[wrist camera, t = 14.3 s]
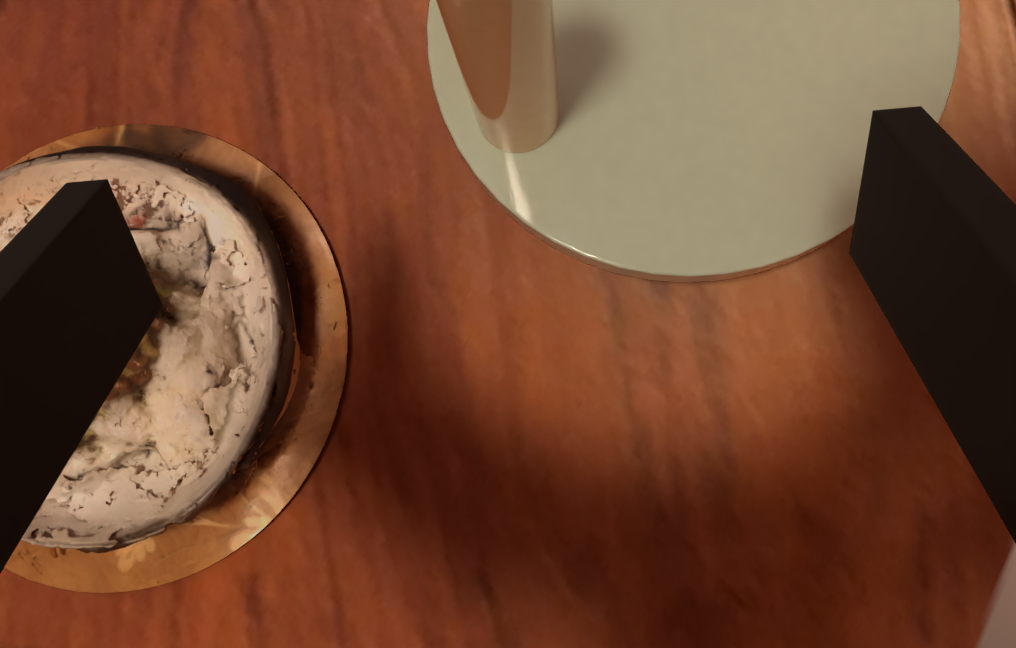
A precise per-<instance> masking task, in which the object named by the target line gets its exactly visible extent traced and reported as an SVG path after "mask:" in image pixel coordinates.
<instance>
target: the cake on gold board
mask: <svg viewBox="0 0 1016 648" xmlns="http://www.w3.org/2000/svg"><path fill="white" fill-rule="evenodd" d="M103 179H108V181H109V184H110V186H111V188H112V191H113V193H114V195H115V197H116V200H117V202H118V204H119V206H120V209H121V211H122V213H123V216H124V218H125V220H126V222H127V225H128V227H129V229H130V232H131V234H132V236H133V238H134V241H135V243H136V245H137V247H138V250H139V252H140V254H141V257H142V259H143V261H144V263H145V266H146V268H147V270H148V273H149V275H150V277H151V279H152V282H153V284H154V286H155V288H156V291H157V293H158V295H159V298H160V300H161V302H162V304H163V306H162V308H161V309H160V311H159V312H158V314H157V316H156V317H155V319H154V321H153V322H152V324H151V326H150V327H149V329H148V331H147V332H146V334H145V336H144V337H143V339H142V341H141V342H140V344H139V346H138V347H137V349H136V350H135V352H134V354H133V355H132V357H131V359H130V360H129V362H128V364H127V365H126V367H125V369H124V370H123V372H122V374H121V375H120V377H119V379H118V380H117V382H116V383H115V385H114V387H113V388H112V390H111V392H110V393H109V395H108V397H107V398H106V400H105V402H104V403H103V405H102V407H101V408H100V410H99V412H98V413H97V415H96V416H95V418H94V420H93V421H92V423H91V425H90V426H89V428H88V430H87V431H86V433H85V435H84V436H83V438H82V440H81V441H80V443H79V445H78V446H77V448H76V449H75V451H74V453H73V454H72V456H71V458H70V459H69V461H68V463H67V464H66V466H65V468H64V469H63V471H62V473H61V474H60V476H59V478H58V479H57V481H56V482H55V484H54V486H53V487H52V489H51V491H50V492H49V494H48V496H47V497H46V499H45V501H44V502H43V504H42V506H41V507H40V509H39V511H38V512H37V514H36V515H35V517H34V519H33V520H32V522H31V524H30V525H29V527H28V529H27V530H26V532H25V534H24V535H23V537H22V539H21V540H20V542H19V544H18V545H17V547H16V548H15V550H14V552H13V553H12V555H11V557H10V558H9V560H8V562H7V563H6V565H5V567H4V568H6V569H8V570H10V571H11V572H13V573H15V574H17V575H20V576H23V577H25V578H27V579H29V580H33V581H35V582H38V583H42V584H45V585H49V586H52V587H56V588H60V589H65V590H71V591H80V592H96V593H107V592H124V591H132V590H139V589H145V588H150V587H154V586H158V585H162V584H166V583H169V582H172V581H175V580H178V579H181V578H184V577H186V576H189V575H191V574H194V573H196V572H198V571H200V570H203V569H205V568H207V567H209V566H210V565H212V564H214V563H216V562H218V561H219V560H221V559H223V558H225V557H226V556H228V555H229V554H231V553H232V552H234V551H236V550H237V549H238V548H240V547H241V546H242V545H244V544H245V543H247V542H248V541H249V540H251V539H252V538H253V537H254V536H255V535H257V534H258V533H259V532H260V531H261V530H262V529H264V528H265V527H266V526H267V525H268V524H269V523H270V522H271V520H272V519H274V518H275V517H276V515H277V514H278V513H279V512H280V511H281V510H282V509H283V508H284V506H285V505H286V504H287V503H288V502H289V501H290V499H291V498H292V497H293V496H294V494H295V493H296V491H297V490H298V489H299V487H300V486H301V484H302V483H303V481H304V480H305V478H306V477H307V475H308V473H309V472H310V470H311V469H312V467H313V465H314V463H315V462H316V460H317V458H318V456H319V454H320V452H321V450H322V448H323V446H324V444H325V442H326V440H327V437H328V435H329V432H330V430H331V427H332V424H333V421H334V418H335V416H336V411H337V408H338V404H339V401H340V397H341V393H342V389H343V386H344V380H345V373H346V357H347V337H348V336H347V331H348V325H347V318H348V317H346V307H345V301H344V296H343V290H342V284H341V281H340V276H339V274H338V270H337V267H336V265H335V262H334V259H333V256H332V253H331V251H330V248H329V246H328V244H327V242H326V240H325V237H324V236H323V233H322V232H321V230H320V228H319V226H318V224H317V223H316V221H315V220H314V218H313V216H312V215H311V213H310V212H309V210H308V209H307V208H306V206H305V205H304V204H303V202H302V201H301V200H300V198H299V197H298V196H297V195H296V194H295V192H294V191H293V190H292V189H291V188H290V187H289V186H288V185H287V184H286V183H285V182H284V181H283V180H282V179H281V178H280V177H279V176H277V175H276V174H275V173H274V172H273V171H272V170H270V169H269V168H268V167H267V166H265V165H264V164H263V163H261V162H260V161H258V160H257V159H255V158H254V157H252V156H251V155H249V154H247V153H246V152H244V151H242V150H240V149H239V148H237V147H235V146H232V145H230V144H228V143H226V142H224V141H222V140H219V139H217V138H214V137H212V136H209V135H206V134H203V133H200V132H196V131H192V130H188V129H184V128H178V127H172V126H160V125H145V124H128V125H118V126H111V127H103V128H99V127H95V128H94V129H93V130H89V131H85V132H81V133H77V134H74V135H71V136H68V137H65V138H62V139H60V140H58V141H55V142H52V143H50V144H49V145H45V146H43V147H40V148H38V149H36V150H34V151H33V152H31V153H29V154H28V155H25V156H24V157H22V158H21V159H19V160H18V161H16V162H14V163H13V164H12V165H10V166H7V167H6V168H5V169H4V170H2V171H0V251H1V250H2V249H3V248H4V247H5V246H6V245H7V244H8V243H9V242H10V241H11V240H12V239H13V238H14V237H15V236H16V235H17V234H18V233H19V232H20V231H21V230H22V229H23V227H24V226H25V225H26V224H27V223H28V222H29V221H30V220H31V219H32V218H33V217H34V216H35V215H36V214H37V213H38V212H39V211H40V210H41V209H42V208H43V207H44V206H45V205H46V203H47V202H48V201H49V200H50V199H51V198H52V197H53V196H54V195H55V194H56V193H57V192H58V191H59V190H60V189H61V188H62V187H63V186H64V185H65V184H66V183H70V182H81V181H91V180H103ZM300 250H301V251H300Z"/></svg>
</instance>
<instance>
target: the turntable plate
mask: <svg viewBox="0 0 1016 648" xmlns="http://www.w3.org/2000/svg"><path fill="white" fill-rule="evenodd" d="M427 46H428V61H429V67H430V72H431V78H432V83H433V89H434V92H435V95H436V98H437V101H438V104H439V108H440V111H441V114H442V117H443V120H444V122H445V124H446V127H447V129H448V131H449V133H450V135H451V137H452V139H453V141H454V143H455V145H456V148H457V150H458V152H459V154H460V156H461V158H462V159H463V161H464V162H465V164H466V165H467V167H468V168H469V170H470V171H471V173H472V174H473V176H474V177H475V179H476V180H477V182H478V183H479V185H480V186H481V187H482V188H483V189H484V190H485V191H486V193H487V194H488V195H489V196H490V197H491V198H492V199H493V200H494V202H495V203H496V204H497V205H498V206H499V207H500V208H501V209H502V210H503V211H504V212H505V213H506V214H508V215H509V216H510V217H511V218H512V219H513V220H515V221H516V222H517V223H518V224H519V225H520V226H522V227H523V228H524V229H525V230H526V231H528V232H529V233H531V234H532V235H534V236H536V237H537V238H539V239H540V240H542V241H543V242H545V243H546V244H548V245H549V246H551V247H552V248H554V249H556V250H558V251H560V252H562V253H564V254H567V255H569V256H571V257H573V258H575V259H577V260H579V261H581V262H583V263H586V264H589V265H592V266H595V267H598V268H601V269H604V270H607V271H610V272H613V273H616V274H621V275H626V276H632V277H637V278H642V279H647V280H656V281H672V282H699V281H714V280H724V279H729V278H734V277H740V276H745V275H750V274H755V273H758V272H761V271H764V270H767V269H770V268H773V267H776V266H779V265H782V264H785V263H788V262H791V261H793V260H795V259H797V258H799V257H801V256H803V255H805V254H807V253H810V252H812V251H814V250H816V249H818V248H820V247H822V246H823V245H825V244H826V243H828V242H829V241H831V240H832V239H834V238H836V237H837V236H839V235H840V234H842V233H843V232H845V231H846V230H848V229H849V228H851V227H852V226H853V225H854V221H855V215H856V208H857V202H858V196H859V190H860V184H861V178H862V172H863V166H864V160H865V154H866V148H867V142H868V136H869V130H870V124H871V118H872V112H873V110H883V109H895V108H906V107H917V106H921V107H922V108H923V109H924V110H925V111H926V112H927V113H928V114H929V115H930V116H931V117H932V118H933V119H934V120H935V121H936V122H937V123H939V120H940V118H941V116H942V114H943V112H944V110H945V107H946V103H947V100H948V97H949V94H950V90H951V87H952V84H953V81H954V77H955V72H956V65H957V59H958V52H959V46H960V4H959V0H429V9H428V19H427Z"/></svg>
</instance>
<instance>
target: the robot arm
mask: <svg viewBox="0 0 1016 648" xmlns="http://www.w3.org/2000/svg"><path fill="white" fill-rule="evenodd" d="M849 254H850V255H851V257H852V259H853V260H854V262H855V264H856V266H857V267H858V269H859V271H860V273H861V274H862V276H863V278H864V280H865V281H866V283H867V285H868V287H869V288H870V290H871V292H872V294H873V295H874V297H875V299H876V301H877V302H878V304H879V306H880V308H881V309H882V311H883V313H884V315H885V316H886V318H887V320H888V322H889V323H890V325H891V327H892V328H893V330H894V332H895V334H896V335H897V337H898V339H899V341H900V342H901V344H902V346H903V348H904V349H905V351H906V353H907V355H908V356H909V358H910V360H911V362H912V363H913V365H914V367H915V369H916V370H917V372H918V374H919V376H920V377H921V379H922V381H923V383H924V384H925V386H926V388H927V390H928V391H929V393H930V395H931V396H932V398H933V400H934V402H935V403H936V405H937V407H938V409H939V410H940V412H941V414H942V416H943V417H944V419H945V421H946V423H947V424H948V426H949V428H950V430H951V431H952V433H953V435H954V437H955V438H956V440H957V442H958V444H959V445H960V447H961V449H962V451H963V452H964V454H965V456H966V458H967V459H968V461H969V463H970V465H971V466H972V468H973V470H974V471H975V473H976V475H977V477H978V478H979V480H980V482H981V484H982V485H983V487H984V489H985V491H986V492H987V494H988V496H989V498H990V499H991V501H992V503H993V505H994V506H995V508H996V510H997V512H998V513H999V515H1000V517H1001V519H1002V520H1003V522H1004V524H1005V526H1006V527H1007V529H1008V531H1009V533H1010V534H1011V536H1012V538H1013V539H1014V541H1015V543H1016V205H1015V204H1014V203H1013V202H1012V201H1011V200H1010V199H1009V198H1008V197H1007V195H1006V194H1005V193H1004V192H1003V191H1002V190H1001V189H1000V188H999V187H998V186H997V185H996V184H995V183H994V182H993V181H992V180H991V179H990V178H989V177H988V176H987V175H986V173H985V172H984V171H983V170H982V169H981V168H980V167H979V166H978V165H977V164H976V163H975V162H974V161H973V160H972V159H971V158H970V157H969V156H968V155H967V154H966V153H965V152H964V150H963V149H962V148H961V147H960V146H959V145H958V144H957V143H956V142H955V141H954V140H953V139H952V138H951V137H950V136H949V135H948V134H947V133H946V132H945V131H944V130H943V129H942V127H941V126H940V125H939V124H938V123H937V122H936V121H935V120H934V119H933V118H932V117H931V116H930V115H929V114H928V113H927V112H926V111H925V110H924V109H923V108H922V107H921V106H917V107H906V108H895V109H883V110H873V112H872V118H871V124H870V130H869V136H868V142H867V148H866V154H865V160H864V166H863V172H862V178H861V184H860V190H859V196H858V202H857V208H856V215H855V221H854V227H853V233H852V239H851V245H850V251H849ZM162 306H163V304H162V302H161V300H160V298H159V295H158V293H157V291H156V288H155V286H154V284H153V282H152V279H151V277H150V275H149V273H148V270H147V268H146V266H145V263H144V261H143V259H142V257H141V254H140V252H139V250H138V247H137V245H136V243H135V241H134V238H133V236H132V234H131V232H130V229H129V227H128V225H127V222H126V220H125V218H124V216H123V213H122V211H121V209H120V206H119V204H118V202H117V200H116V197H115V195H114V193H113V191H112V188H111V186H110V184H109V181H108V179H103V180H92V181H81V182H70V183H66V184H65V185H64V186H63V187H62V188H61V189H60V190H59V191H58V192H57V193H56V194H55V195H54V196H53V197H52V198H51V199H50V200H49V201H48V202H47V203H46V205H45V206H44V207H43V208H42V209H41V210H40V211H39V212H38V213H37V214H36V215H35V216H34V217H33V218H32V219H31V220H30V221H29V222H28V223H27V224H26V225H25V226H24V227H23V229H22V230H21V231H20V232H19V233H18V234H17V235H16V236H15V237H14V238H13V239H12V240H11V241H10V242H9V243H8V244H7V245H6V246H5V247H4V248H3V249H2V250H1V251H0V573H1V572H2V570H3V568H4V567H5V565H6V563H7V562H8V560H9V558H10V557H11V555H12V553H13V552H14V550H15V548H16V547H17V545H18V544H19V542H20V540H21V539H22V537H23V535H24V534H25V532H26V530H27V529H28V527H29V525H30V524H31V522H32V520H33V519H34V517H35V515H36V514H37V512H38V511H39V509H40V507H41V506H42V504H43V502H44V501H45V499H46V497H47V496H48V494H49V492H50V491H51V489H52V487H53V486H54V484H55V482H56V481H57V479H58V478H59V476H60V474H61V473H62V471H63V469H64V468H65V466H66V464H67V463H68V461H69V459H70V458H71V456H72V454H73V453H74V451H75V449H76V448H77V446H78V445H79V443H80V441H81V440H82V438H83V436H84V435H85V433H86V431H87V430H88V428H89V426H90V425H91V423H92V421H93V420H94V418H95V416H96V415H97V413H98V412H99V410H100V408H101V407H102V405H103V403H104V402H105V400H106V398H107V397H108V395H109V393H110V392H111V390H112V388H113V387H114V385H115V383H116V382H117V380H118V379H119V377H120V375H121V374H122V372H123V370H124V369H125V367H126V365H127V364H128V362H129V360H130V359H131V357H132V355H133V354H134V352H135V350H136V349H137V347H138V346H139V344H140V342H141V341H142V339H143V337H144V336H145V334H146V332H147V331H148V329H149V327H150V326H151V324H152V322H153V321H154V319H155V317H156V316H157V314H158V312H159V311H160V309H161V308H162Z"/></svg>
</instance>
